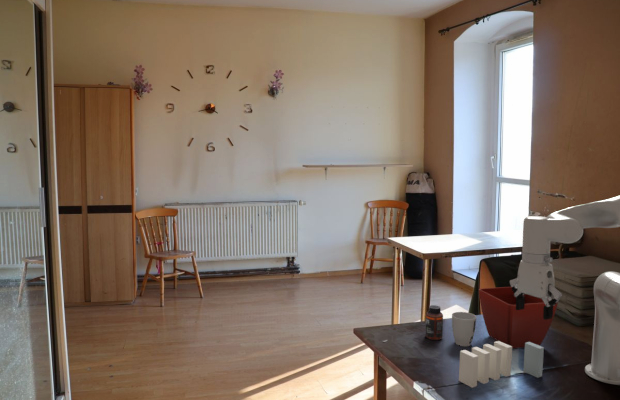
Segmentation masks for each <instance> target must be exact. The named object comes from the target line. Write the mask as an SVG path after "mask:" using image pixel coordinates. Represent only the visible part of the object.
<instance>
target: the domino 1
mask: <svg viewBox="0 0 620 400" xmlns="http://www.w3.org/2000/svg"><path fill="white" fill-rule="evenodd" d="M458 366H459V367H458V368H459V369H458V370H459V373H458V382H461V383H462V384H464V385H467V386H468V387H470V388H476V387H478V381H477V374H478V356H477V355H475V354H473V353H472V351H469V350H466V349H463V350H462V349H461V350H460V351H459V365H458Z"/></svg>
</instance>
